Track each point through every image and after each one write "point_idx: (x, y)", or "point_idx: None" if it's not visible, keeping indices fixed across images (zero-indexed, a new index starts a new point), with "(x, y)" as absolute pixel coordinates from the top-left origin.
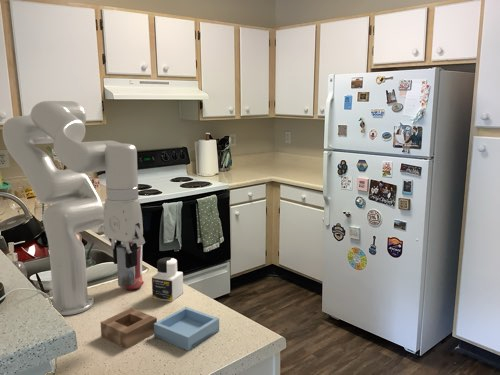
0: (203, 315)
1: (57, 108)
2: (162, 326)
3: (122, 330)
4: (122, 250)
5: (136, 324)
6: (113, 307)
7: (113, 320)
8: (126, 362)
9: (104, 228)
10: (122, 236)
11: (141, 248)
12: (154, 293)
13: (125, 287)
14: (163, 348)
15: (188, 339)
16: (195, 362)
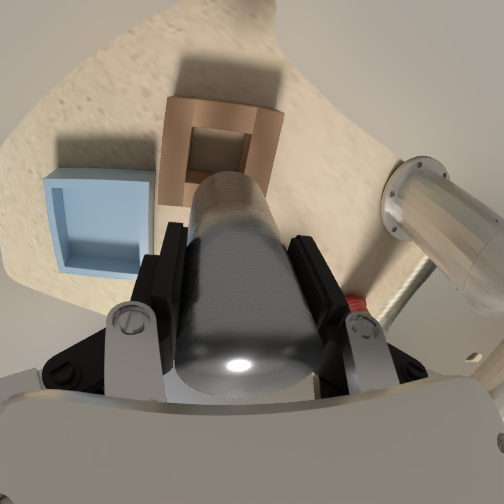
0: (90, 269)
1: None
2: (120, 183)
3: (190, 104)
4: (211, 312)
5: (178, 149)
6: (337, 230)
7: (256, 136)
8: (135, 56)
9: (499, 435)
10: (96, 489)
11: None
12: None
13: (354, 296)
14: (102, 143)
15: (45, 177)
16: (27, 146)
